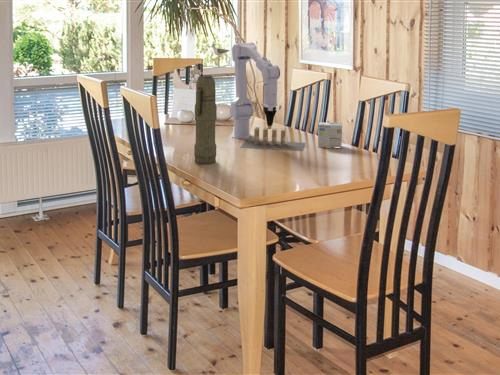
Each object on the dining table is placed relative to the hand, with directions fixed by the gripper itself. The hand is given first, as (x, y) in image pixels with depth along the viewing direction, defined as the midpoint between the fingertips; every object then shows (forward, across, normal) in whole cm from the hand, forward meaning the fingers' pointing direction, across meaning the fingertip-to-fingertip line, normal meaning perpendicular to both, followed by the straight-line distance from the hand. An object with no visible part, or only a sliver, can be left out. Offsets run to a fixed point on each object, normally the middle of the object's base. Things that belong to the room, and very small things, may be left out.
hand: (269, 124), depth 344 cm
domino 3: (+2, 0, 0) cm, 2 cm away
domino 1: (+10, -7, -6) cm, 13 cm away
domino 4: (+10, -6, +2) cm, 12 cm away
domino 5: (+10, -5, +6) cm, 13 cm away
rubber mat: (+10, -4, +2) cm, 11 cm away
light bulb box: (+11, -4, +27) cm, 30 cm away
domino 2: (+10, -6, -2) cm, 12 cm away
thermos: (+11, +30, -27) cm, 41 cm away
